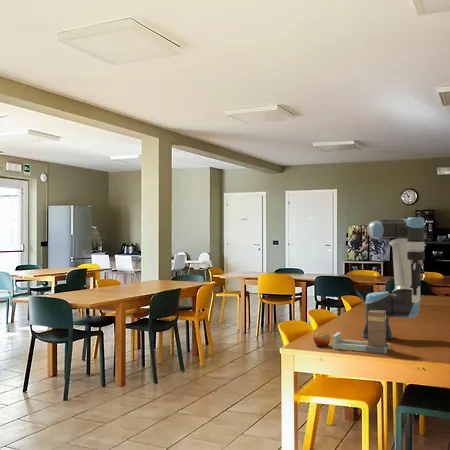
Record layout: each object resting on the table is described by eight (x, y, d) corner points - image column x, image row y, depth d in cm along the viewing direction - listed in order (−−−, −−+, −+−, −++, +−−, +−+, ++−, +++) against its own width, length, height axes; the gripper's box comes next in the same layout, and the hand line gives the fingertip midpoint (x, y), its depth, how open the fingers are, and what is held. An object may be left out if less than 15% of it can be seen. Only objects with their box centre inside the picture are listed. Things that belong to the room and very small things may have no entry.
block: (370, 348, 260) (370, 309, 260) (386, 349, 257) (386, 310, 257) (367, 351, 253) (367, 311, 253) (383, 352, 250) (383, 312, 250)
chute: (338, 344, 269) (338, 331, 269) (390, 348, 259) (390, 335, 259) (332, 349, 257) (332, 336, 258) (386, 354, 247) (386, 340, 247)
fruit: (327, 340, 271) (328, 327, 267) (330, 351, 264) (332, 339, 260) (310, 340, 271) (312, 328, 267) (313, 351, 264) (315, 339, 260)
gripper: (422, 252, 240) (422, 304, 240) (426, 250, 259) (426, 299, 258) (404, 251, 243) (404, 303, 243) (409, 250, 262) (410, 298, 262)
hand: (416, 301), depth 251 cm, fingers open, 8 cm apart
